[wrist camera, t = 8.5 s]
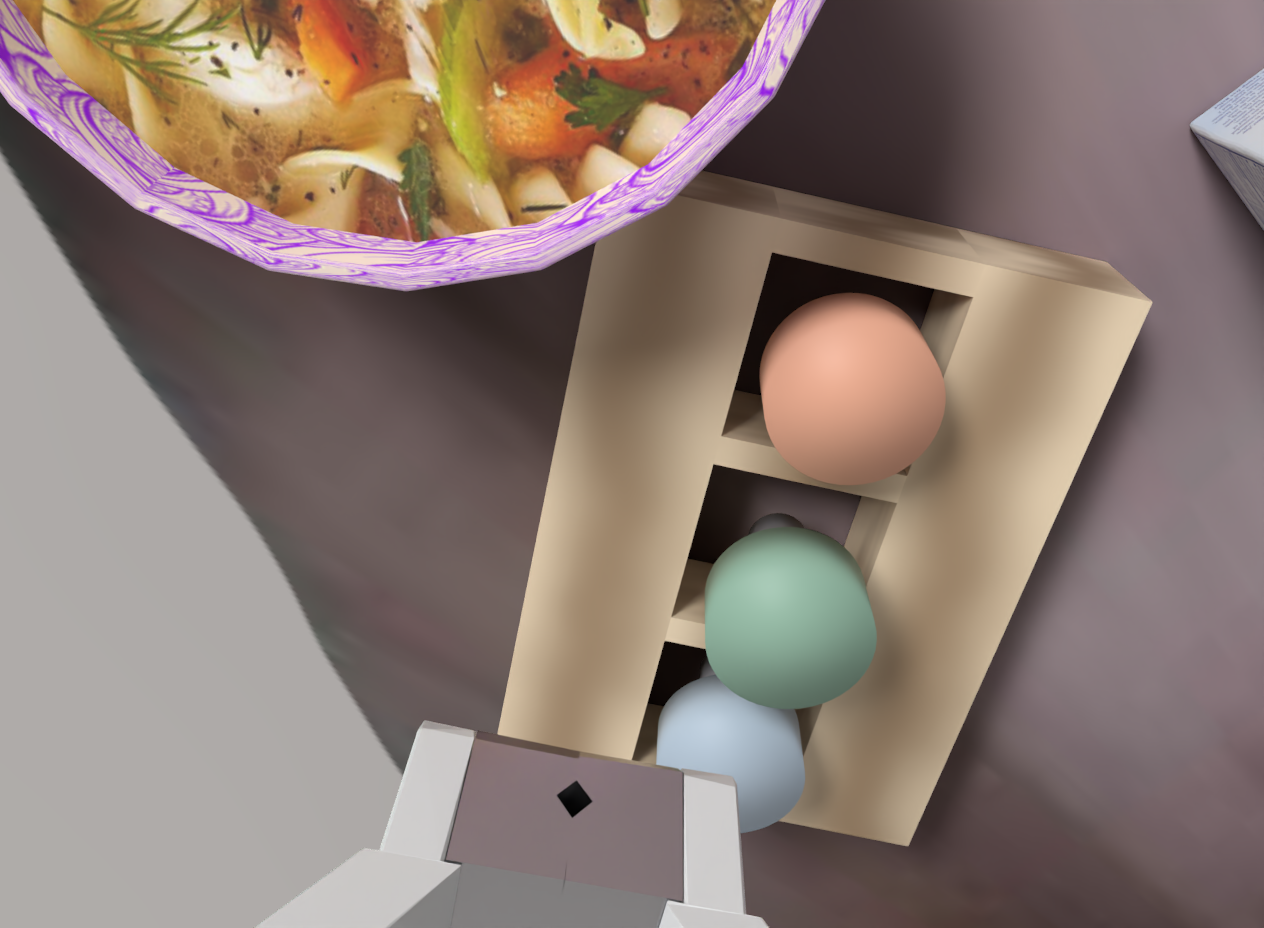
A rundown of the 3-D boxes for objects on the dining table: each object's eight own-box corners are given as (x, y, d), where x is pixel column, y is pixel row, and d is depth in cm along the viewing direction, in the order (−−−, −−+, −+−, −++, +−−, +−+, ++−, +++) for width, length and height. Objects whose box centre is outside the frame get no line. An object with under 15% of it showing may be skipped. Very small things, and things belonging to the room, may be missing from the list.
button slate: (807, 630, 41) (823, 736, 36) (772, 732, 43) (782, 845, 38) (676, 603, 41) (674, 706, 36) (648, 707, 43) (641, 817, 38)
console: (1106, 262, 35) (1152, 301, 32) (891, 772, 45) (908, 846, 42) (617, 151, 34) (608, 179, 31) (507, 695, 44) (491, 763, 41)
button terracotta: (930, 276, 35) (971, 342, 30) (881, 416, 37) (911, 500, 32) (777, 242, 35) (791, 303, 29) (737, 385, 37) (744, 465, 32)
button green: (870, 491, 37) (899, 589, 31) (827, 612, 39) (847, 723, 34) (723, 460, 36) (728, 553, 31) (689, 583, 39) (687, 690, 33)
